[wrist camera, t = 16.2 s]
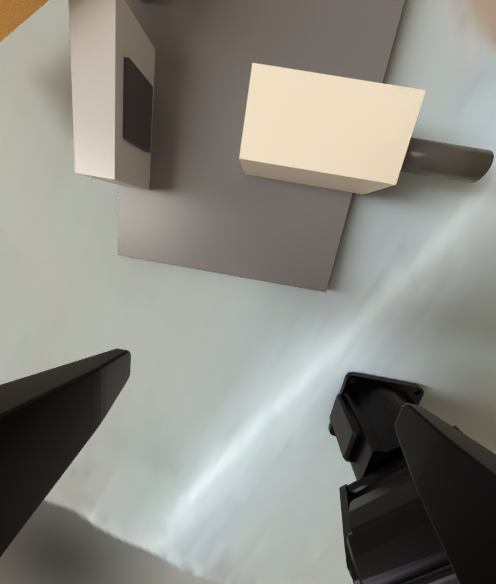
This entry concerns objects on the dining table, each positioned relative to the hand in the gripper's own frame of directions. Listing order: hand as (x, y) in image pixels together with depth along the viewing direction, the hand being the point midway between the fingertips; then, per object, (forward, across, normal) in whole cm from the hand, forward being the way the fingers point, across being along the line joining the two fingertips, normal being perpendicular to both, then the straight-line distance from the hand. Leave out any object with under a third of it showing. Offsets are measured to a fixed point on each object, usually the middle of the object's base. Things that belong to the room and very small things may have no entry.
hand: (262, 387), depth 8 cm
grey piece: (+12, +4, -10) cm, 16 cm away
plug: (+11, -4, -10) cm, 15 cm away
